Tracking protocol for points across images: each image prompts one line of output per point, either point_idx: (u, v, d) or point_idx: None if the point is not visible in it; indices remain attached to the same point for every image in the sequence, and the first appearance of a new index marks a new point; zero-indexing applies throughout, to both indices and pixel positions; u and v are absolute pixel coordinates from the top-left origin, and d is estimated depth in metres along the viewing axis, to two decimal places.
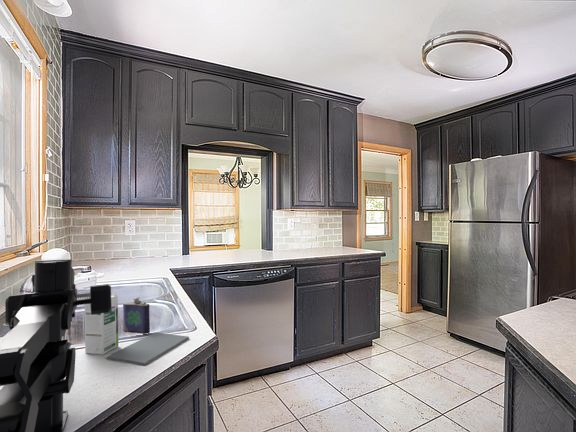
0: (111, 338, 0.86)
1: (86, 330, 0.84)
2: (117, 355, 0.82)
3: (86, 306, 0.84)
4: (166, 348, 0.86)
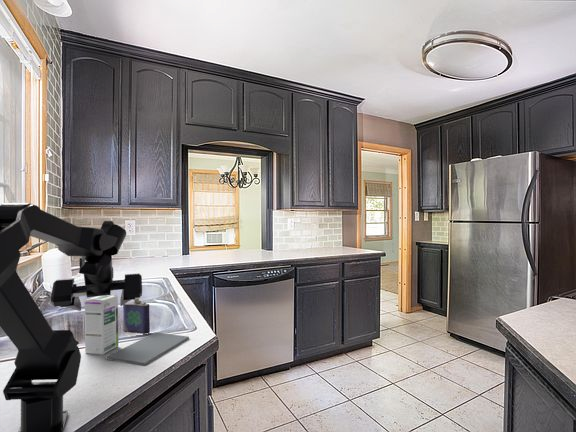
0: (111, 338, 0.86)
1: (86, 330, 0.84)
2: (117, 355, 0.82)
3: (86, 306, 0.84)
4: (166, 348, 0.86)
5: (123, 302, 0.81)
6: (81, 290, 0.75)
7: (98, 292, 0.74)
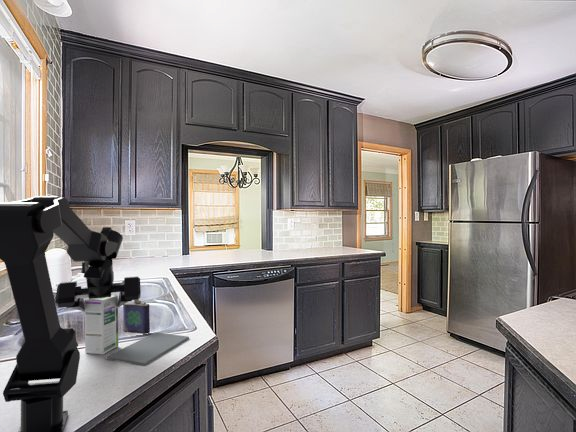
0: (111, 338, 0.86)
1: (86, 330, 0.84)
2: (117, 355, 0.82)
3: (86, 306, 0.84)
4: (166, 348, 0.86)
5: (120, 304, 0.86)
6: (83, 292, 0.80)
7: (99, 294, 0.79)
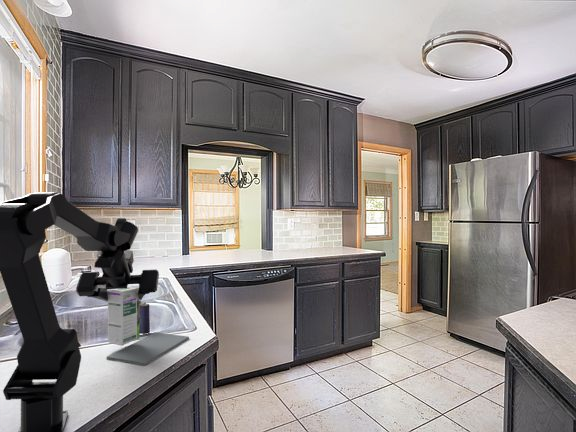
0: (132, 330, 0.86)
1: (109, 320, 0.86)
2: (117, 355, 0.82)
3: (109, 296, 0.86)
4: (166, 348, 0.86)
5: (139, 296, 0.86)
6: (103, 282, 0.81)
7: (115, 285, 0.79)
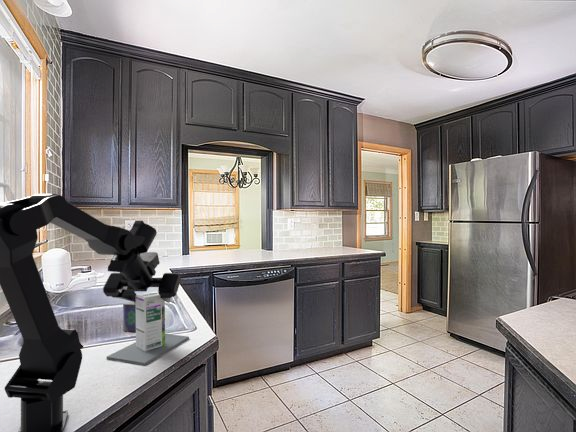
0: (156, 336, 0.86)
1: (136, 324, 0.87)
2: (117, 355, 0.82)
3: (136, 301, 0.87)
4: (166, 348, 0.86)
5: (164, 299, 0.84)
6: (127, 284, 0.82)
7: (134, 287, 0.79)
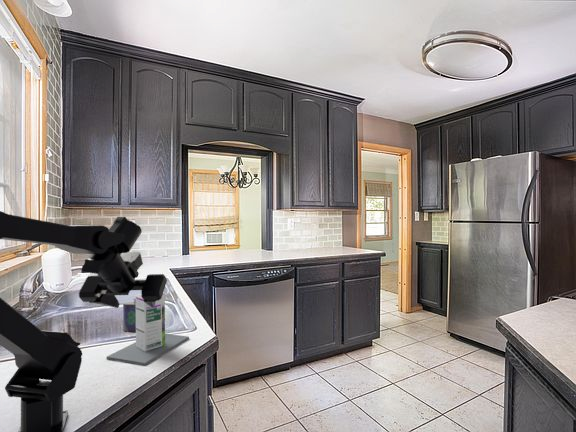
0: (156, 336, 0.86)
1: (136, 324, 0.87)
2: (117, 355, 0.82)
3: (136, 301, 0.87)
4: (166, 348, 0.86)
5: (148, 304, 0.76)
6: (106, 287, 0.74)
7: (114, 291, 0.71)
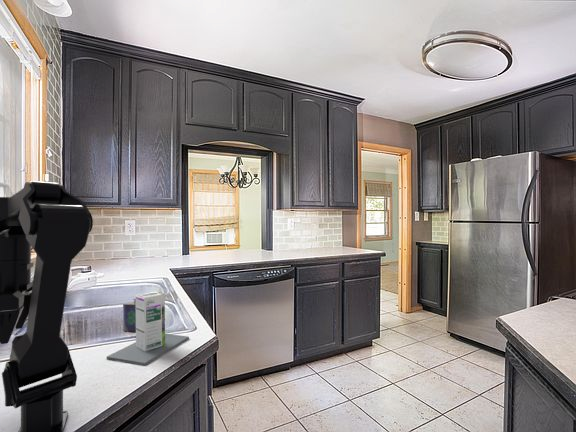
0: (156, 336, 0.86)
1: (136, 324, 0.87)
2: (117, 355, 0.82)
3: (136, 301, 0.87)
4: (166, 348, 0.86)
5: None
6: None
7: (30, 280, 0.66)
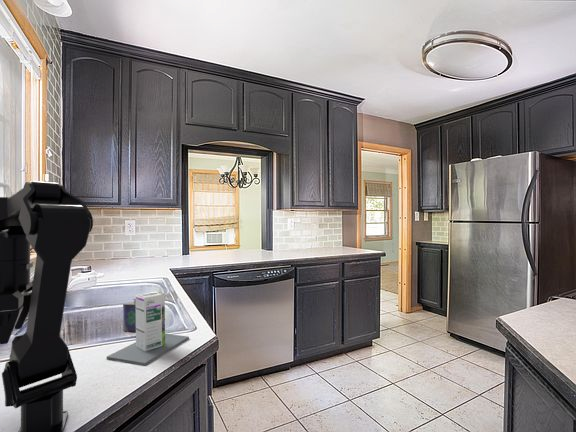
0: (156, 336, 0.86)
1: (136, 324, 0.87)
2: (117, 355, 0.82)
3: (136, 301, 0.87)
4: (166, 348, 0.86)
5: None
6: None
7: (29, 280, 0.66)
